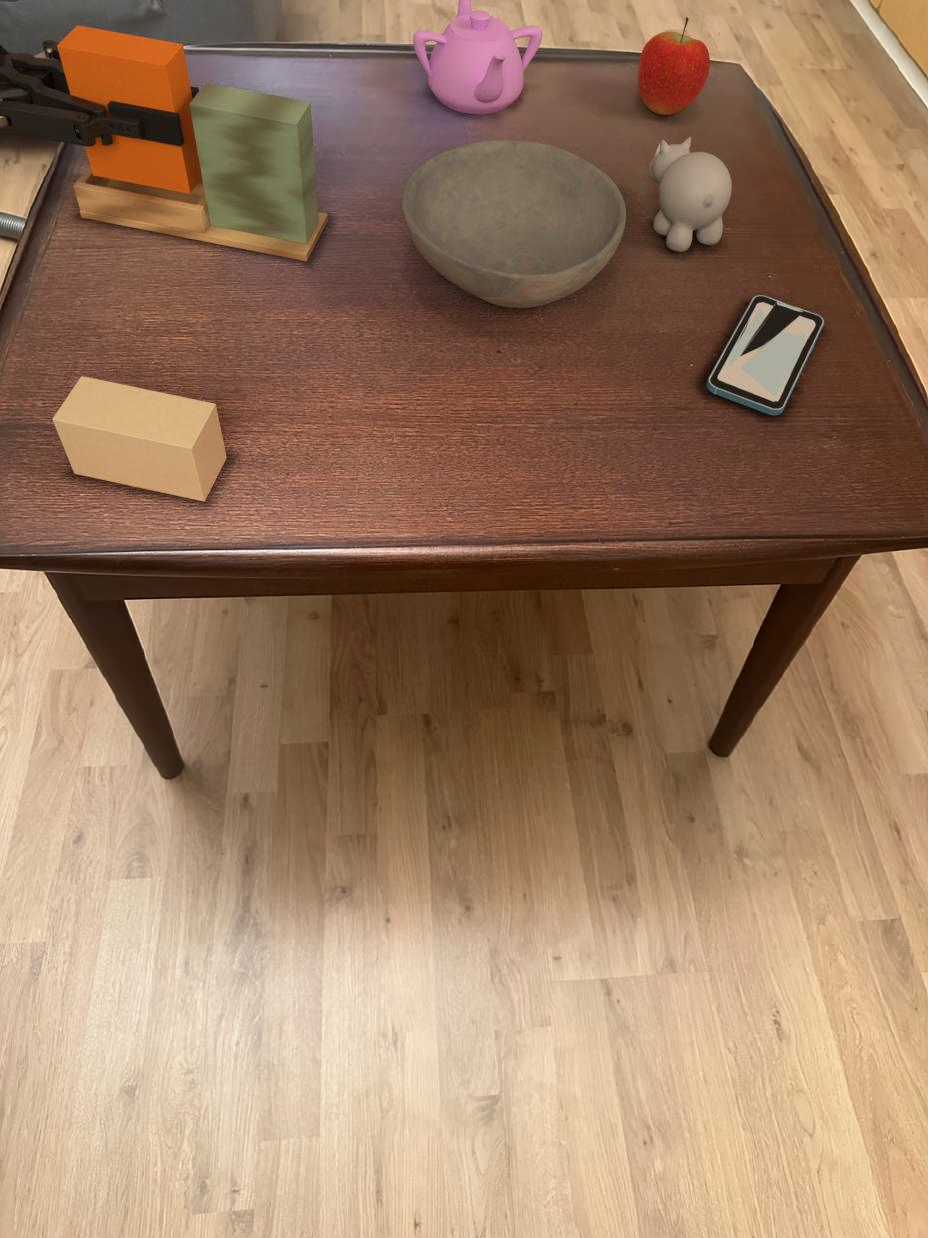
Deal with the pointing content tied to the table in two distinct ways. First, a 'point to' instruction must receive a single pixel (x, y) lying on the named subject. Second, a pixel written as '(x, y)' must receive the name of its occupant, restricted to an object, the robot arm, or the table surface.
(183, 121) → the orange rectangular block
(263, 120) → the pad holder
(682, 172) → the round bodied animal figurine
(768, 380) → the smartphone
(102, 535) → the table surface
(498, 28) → the teapot
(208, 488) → the pad riser
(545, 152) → the bowl
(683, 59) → the apple
